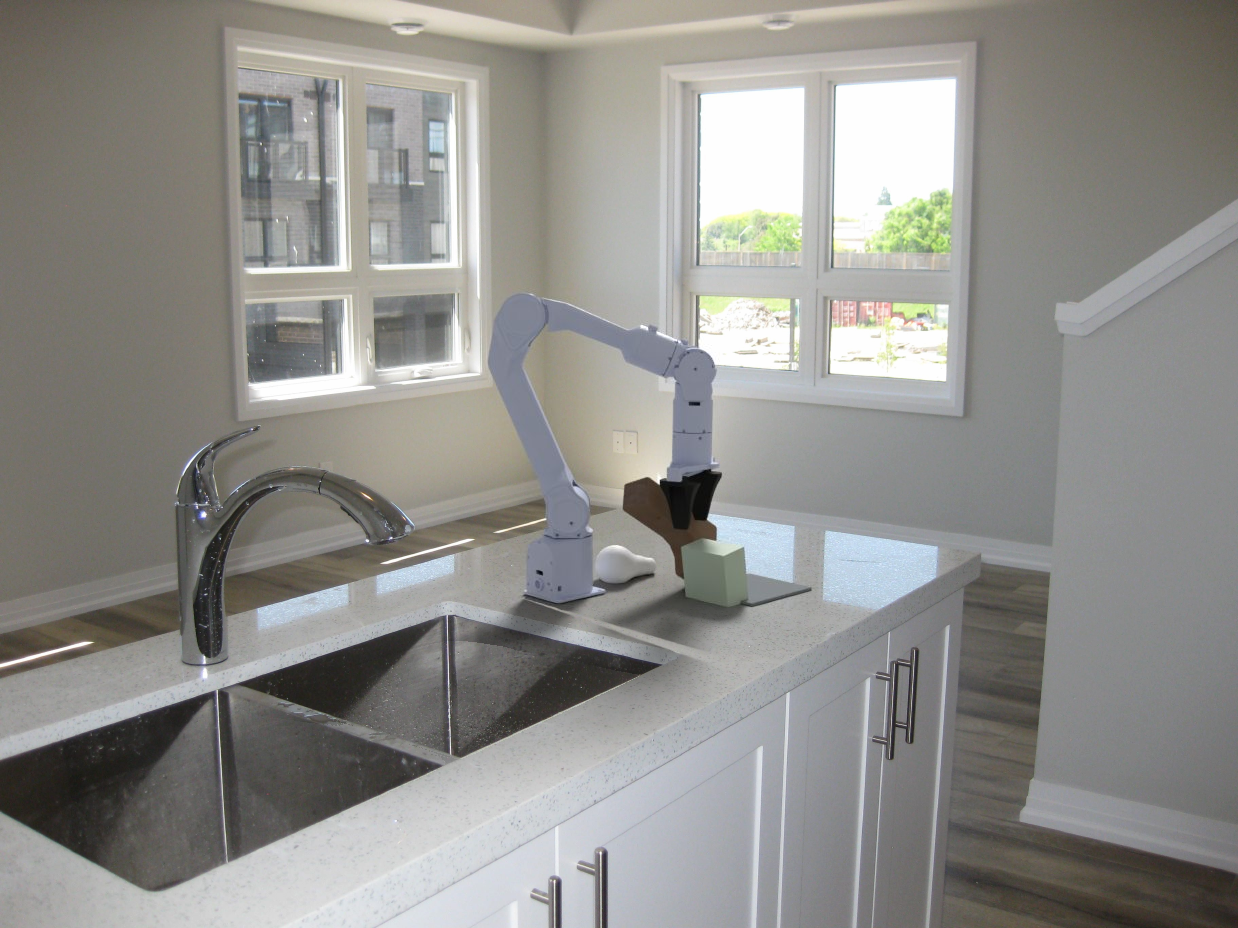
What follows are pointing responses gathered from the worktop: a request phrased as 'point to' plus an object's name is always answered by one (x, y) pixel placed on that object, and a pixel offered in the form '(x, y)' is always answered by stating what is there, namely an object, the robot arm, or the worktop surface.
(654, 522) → the wooden block
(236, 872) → the worktop surface
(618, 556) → the lightbulb
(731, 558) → the sage block
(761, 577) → the mat
